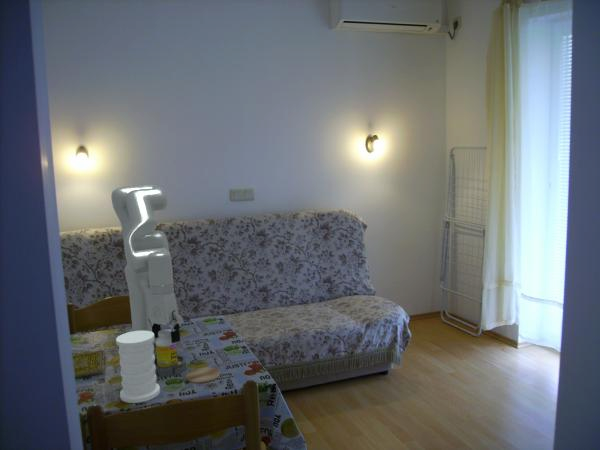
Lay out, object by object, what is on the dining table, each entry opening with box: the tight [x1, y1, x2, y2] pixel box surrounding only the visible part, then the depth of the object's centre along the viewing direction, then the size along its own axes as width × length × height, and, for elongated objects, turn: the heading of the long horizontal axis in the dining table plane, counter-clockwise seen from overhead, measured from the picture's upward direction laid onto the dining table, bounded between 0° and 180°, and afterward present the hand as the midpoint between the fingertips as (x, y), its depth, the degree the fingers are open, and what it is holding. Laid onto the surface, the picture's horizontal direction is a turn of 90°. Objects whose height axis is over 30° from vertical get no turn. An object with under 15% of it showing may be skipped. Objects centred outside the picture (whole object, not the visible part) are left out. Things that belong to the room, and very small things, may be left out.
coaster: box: [185, 366, 221, 384], centre depth 173 cm, size 11×11×1 cm
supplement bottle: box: [155, 328, 178, 368], centre depth 179 cm, size 7×7×13 cm
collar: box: [154, 353, 188, 377], centre depth 180 cm, size 12×12×3 cm
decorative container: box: [115, 331, 161, 404], centre depth 160 cm, size 12×12×18 cm
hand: (166, 339), depth 178 cm, fingers open, 9 cm apart
